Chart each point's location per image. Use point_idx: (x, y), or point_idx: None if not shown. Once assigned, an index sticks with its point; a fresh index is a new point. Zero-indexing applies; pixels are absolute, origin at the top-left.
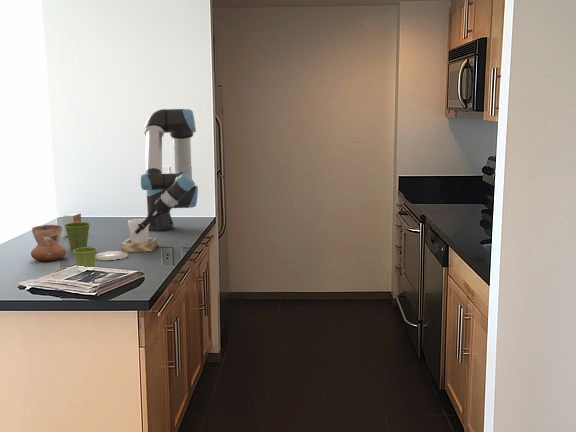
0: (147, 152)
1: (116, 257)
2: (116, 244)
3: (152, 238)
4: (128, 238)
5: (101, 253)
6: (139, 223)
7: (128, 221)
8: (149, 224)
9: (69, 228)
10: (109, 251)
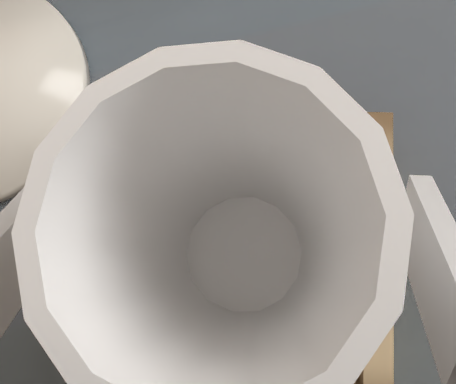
0: None
1: None
2: (417, 25)
3: (363, 373)
4: (372, 113)
5: (25, 11)
6: (26, 274)
7: (149, 57)
8: (443, 379)
9: None
10: (79, 49)
